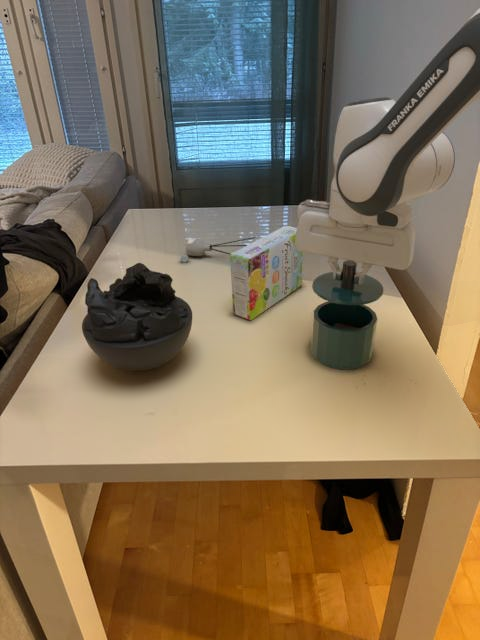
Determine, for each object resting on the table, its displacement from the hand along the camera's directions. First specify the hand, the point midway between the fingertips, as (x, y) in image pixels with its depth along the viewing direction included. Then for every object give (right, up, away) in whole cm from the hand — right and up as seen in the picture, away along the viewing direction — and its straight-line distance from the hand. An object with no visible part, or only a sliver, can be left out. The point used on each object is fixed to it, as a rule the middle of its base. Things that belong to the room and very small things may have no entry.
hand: (348, 281), depth 84 cm
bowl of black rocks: (-38, -15, +7) cm, 42 cm away
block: (0, -13, +8) cm, 15 cm away
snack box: (-13, -2, +27) cm, 30 cm away
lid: (0, -1, +1) cm, 2 cm away
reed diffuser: (-26, +10, +48) cm, 55 cm away
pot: (0, -13, +8) cm, 16 cm away
